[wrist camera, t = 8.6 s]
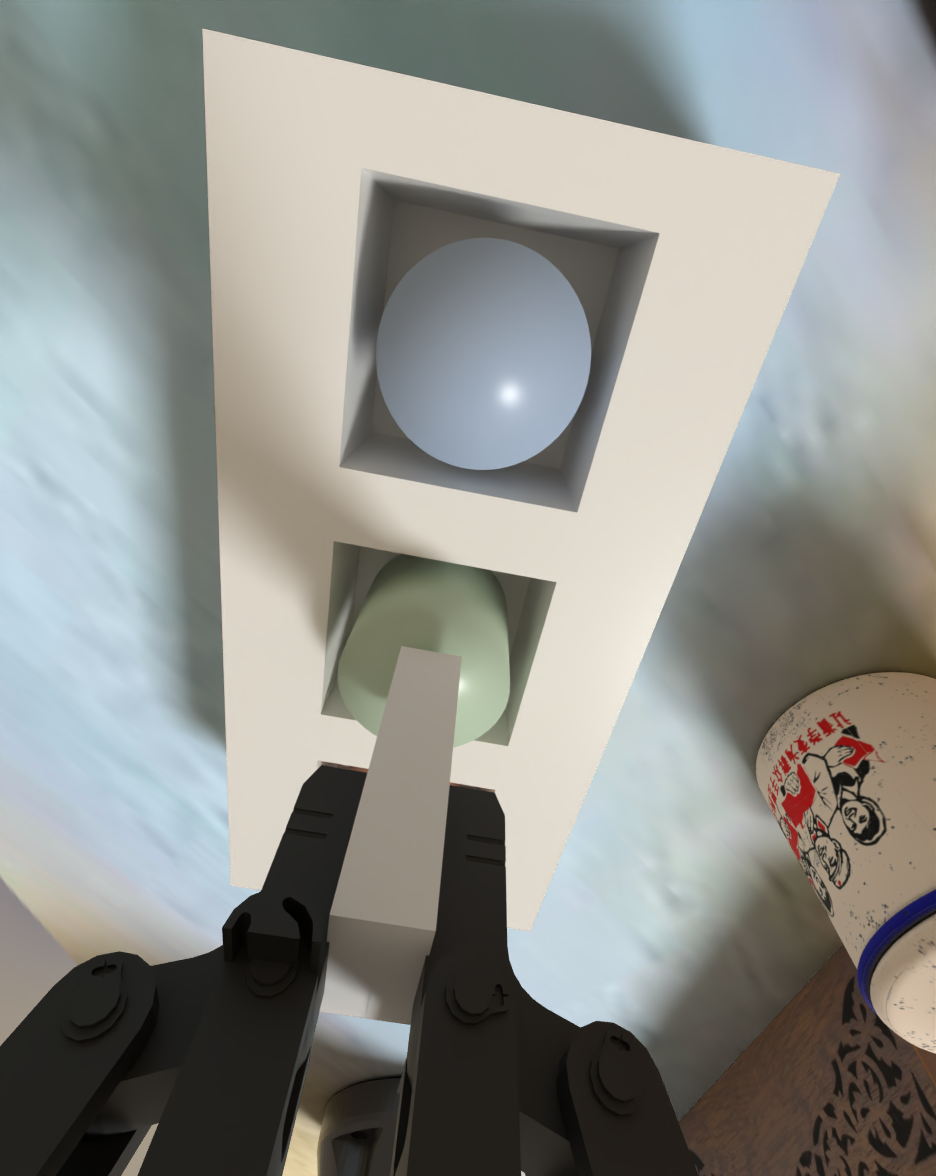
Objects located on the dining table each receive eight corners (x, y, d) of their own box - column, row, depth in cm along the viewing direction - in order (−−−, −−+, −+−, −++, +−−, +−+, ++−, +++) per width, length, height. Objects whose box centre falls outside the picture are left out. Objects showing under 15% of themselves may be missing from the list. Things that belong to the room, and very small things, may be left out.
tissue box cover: (849, 1150, 43) (942, 1373, 34) (671, 1124, 42) (719, 1346, 33) (1090, 972, 31) (1333, 1245, 22) (848, 931, 30) (998, 1198, 21)
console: (524, 825, 26) (530, 931, 22) (275, 785, 26) (230, 885, 21) (737, 211, 15) (840, 173, 10) (292, 112, 14) (202, 27, 10)
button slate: (545, 446, 16) (559, 486, 13) (393, 416, 16) (366, 449, 13) (588, 272, 14) (619, 264, 11) (415, 235, 14) (388, 215, 11)
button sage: (491, 677, 19) (490, 762, 16) (361, 654, 19) (331, 735, 16) (521, 560, 17) (527, 629, 14) (375, 533, 17) (344, 596, 13)
